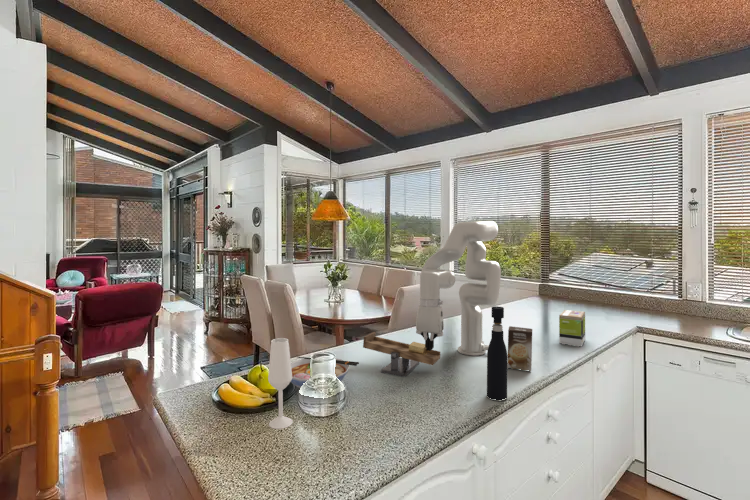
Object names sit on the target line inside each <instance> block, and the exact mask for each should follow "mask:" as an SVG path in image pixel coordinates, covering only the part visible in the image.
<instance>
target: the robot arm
mask: <svg viewBox="0 0 750 500" xmlns="http://www.w3.org/2000/svg"><path fill="white" fill-rule="evenodd" d="M498 234H499V227H498V224H497V223H496V222H495V221H493V220H475V221H474V220H473V221H472V220H471V221H462V222H457V223H455V224H454V225H453V227H452V229H451V231H450V233H449V236H448V238H447V240H446V242H445V243H444V246H443V247H441V248H440V249H438V250H437V251H436V252H435V253H433V254H432V255H431V256H430V257H428V259H427V260H426V261H425V262H424V264H423V267H422V269H421V272H420V275H419V305H418V306H417V311H416V320H415V329H416V331H415V333H416V334H417V335H420V336H421V337H422V338H423V340H424V341H425V342H424V344H425V348H426V351H428V350H429V351H431V350H434V346H435V344H434V343H435V339H436V338H438V337H439V338H440V337H443V336H444V326H445V324H444V312H443V308H442V306H441V305H444V300H441V299H440V296H441V295H440V291H441V290H440V289H444V290H445V289H446V290H447V289H448V290H449V289H450V288H452V287H453V286H454V285H455V283H456V276H455V275H456V274H455V273H454V272H453V271H451V270H449V269H442V268H441V269H440V267H442V266H443V265H445V264H449V263H452V262H455V261H457V260H459V259H461V258H462V257H463V255H464V253H465V251H467V252H466V261H465V270H464V273H465V274H464V275H465V277H466V279H468V280H471V281H477V282H486V284H485V283H475V282H468V283H464V284H462V285H461V286H460V287H459V291H458V296H459V301H460V314H461V315H460V346H458V347H457V352H459V353H460V354H462V355H466V356H477V357H478V356H483V355H485V354H486V352H487V351H488V347H489V344H485V341H483V320H484V319H483V311H482V310H481V307H480V306H483V307H495V306H496V305H497V304H498V302H499V295H500V290H501V289H500V287H501V278H502V270H501V266H500V264H499V262H497V261H494V260H486V257H487V248H486V246H485V245H484V243H483V242H488V241H492V240H495V239H496V238H497V236H498ZM429 334H430V335H429Z"/></svg>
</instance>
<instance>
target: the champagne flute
mask: <svg viewBox="0 0 750 500" xmlns="http://www.w3.org/2000/svg"><path fill="white" fill-rule="evenodd" d="M291 363H292V361H291V352H290V344H289V339H288V338H285V337H279V338H274V339H272V340H270V352H269V364H268V377H267V379H268V383H269V384H270V385H271V387H272V388H274V389H275V390H277V392H278V393H277V395H278V396H277V397H278V415H277V417H275V418H274V419H272V420H270V421H269V423H268V426H269V428H272V429H275V430H281V429H285V428H288V427H290V426H292V424H293V422H294V421H293V419H292V418H290V417H287V416H284V409H283V408H284V406H283V405H284V404H283V403H284V399H283V398H284V397H283V396H284V394H283V390H284V389H286V388H287V387H288V386H289V385H290V383H292V382H291V380H292V369H291Z"/></svg>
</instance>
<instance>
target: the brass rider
mask: <svg viewBox="0 0 750 500" xmlns="http://www.w3.org/2000/svg"><path fill="white" fill-rule="evenodd" d="M409 352H413V353H417V354H421V355H426V354H427V351H426V348H425V343H421V342H417V341H412V342H411V343H410V345H409Z"/></svg>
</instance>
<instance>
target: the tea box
mask: <svg viewBox="0 0 750 500" xmlns="http://www.w3.org/2000/svg"><path fill="white" fill-rule="evenodd" d="M558 322H559V323H558V324H559V325H558V328H559V329H558V331H559V332H558V333H559V334H558V335H559V336H558V338H559V339H558V341H559V344H560V343H562V344H561V345H565V344H568V345H567V346H571V345H575V346H574V347H579V346H581V347H582V346H583V344H584V342H585V340H586V311H582V310H581V311H579V310H570V309H569V310H567V309H564V310H563V311H562V312H561V313H560V314H559V317H558Z"/></svg>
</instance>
